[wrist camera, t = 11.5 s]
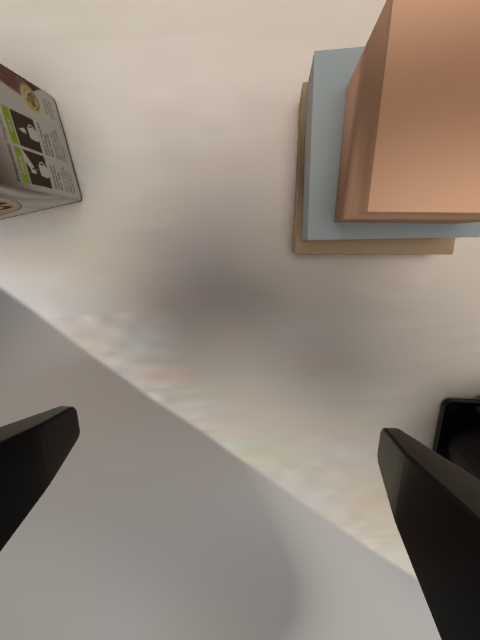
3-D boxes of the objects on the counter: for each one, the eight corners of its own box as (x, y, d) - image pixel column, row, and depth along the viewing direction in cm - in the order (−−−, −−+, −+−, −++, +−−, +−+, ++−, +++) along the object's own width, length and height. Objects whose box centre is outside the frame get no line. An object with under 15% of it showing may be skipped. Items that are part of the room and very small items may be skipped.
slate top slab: (441, 237, 15) (479, 236, 13) (301, 240, 16) (307, 239, 13) (464, 77, 14) (514, 33, 11) (306, 88, 14) (314, 51, 12)
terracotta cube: (457, 223, 12) (571, 213, 8) (334, 221, 13) (367, 211, 8) (485, 82, 11) (643, -37, 6) (347, 86, 12) (395, -20, 7)
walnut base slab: (425, 251, 18) (452, 254, 16) (292, 251, 19) (295, 253, 16) (448, 101, 16) (484, 71, 14) (298, 108, 17) (302, 82, 14)
